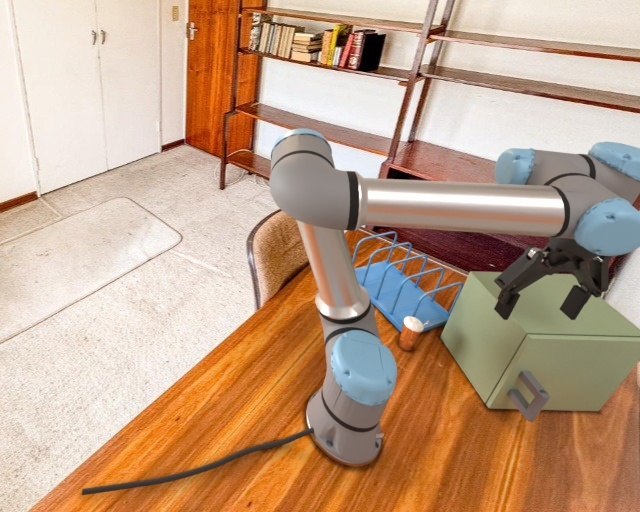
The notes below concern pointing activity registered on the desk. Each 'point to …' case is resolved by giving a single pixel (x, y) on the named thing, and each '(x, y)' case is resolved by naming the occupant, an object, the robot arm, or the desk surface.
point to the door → (564, 373)
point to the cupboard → (518, 324)
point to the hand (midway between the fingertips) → (533, 314)
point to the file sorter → (402, 290)
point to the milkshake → (410, 332)
